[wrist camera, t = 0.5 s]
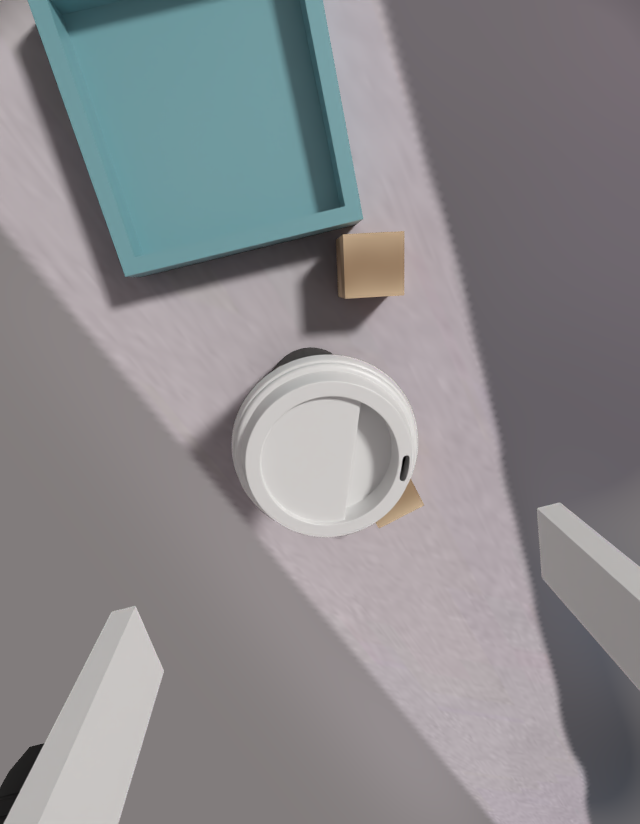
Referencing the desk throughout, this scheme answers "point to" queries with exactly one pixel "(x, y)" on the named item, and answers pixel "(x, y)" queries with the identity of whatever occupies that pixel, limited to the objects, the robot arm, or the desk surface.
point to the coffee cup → (325, 443)
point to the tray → (203, 123)
